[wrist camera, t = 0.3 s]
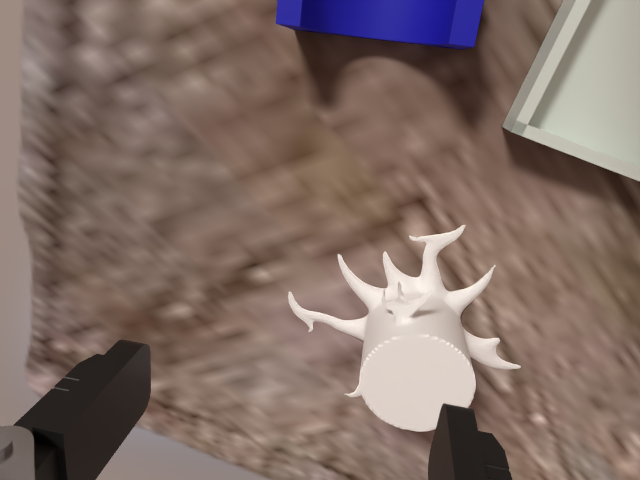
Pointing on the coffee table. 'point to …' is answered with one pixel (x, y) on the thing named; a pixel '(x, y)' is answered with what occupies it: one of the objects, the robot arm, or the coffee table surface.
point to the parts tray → (586, 86)
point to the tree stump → (414, 341)
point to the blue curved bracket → (388, 19)
